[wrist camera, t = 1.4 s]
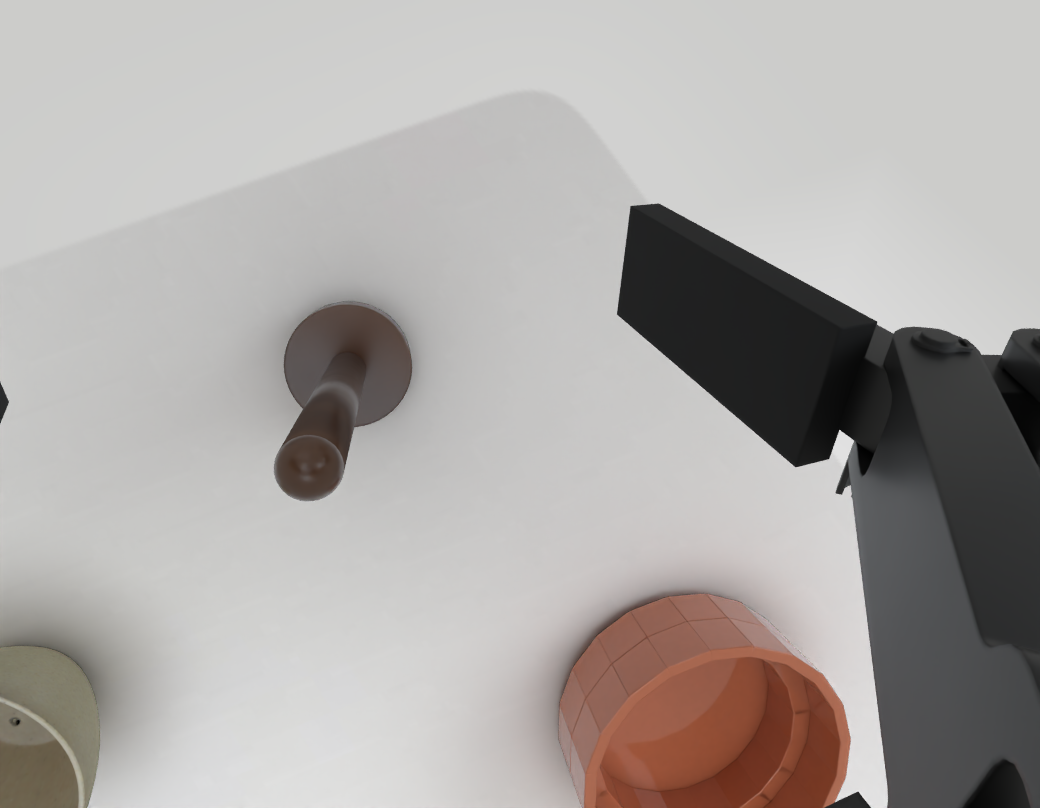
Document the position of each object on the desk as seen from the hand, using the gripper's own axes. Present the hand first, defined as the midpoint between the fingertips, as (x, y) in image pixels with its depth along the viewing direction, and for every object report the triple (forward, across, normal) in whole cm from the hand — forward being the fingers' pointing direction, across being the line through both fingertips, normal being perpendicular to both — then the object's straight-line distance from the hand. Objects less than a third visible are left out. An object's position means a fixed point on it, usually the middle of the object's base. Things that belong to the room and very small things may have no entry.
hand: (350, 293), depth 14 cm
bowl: (+5, +17, -30) cm, 35 cm away
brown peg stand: (+16, +2, -10) cm, 19 cm away
